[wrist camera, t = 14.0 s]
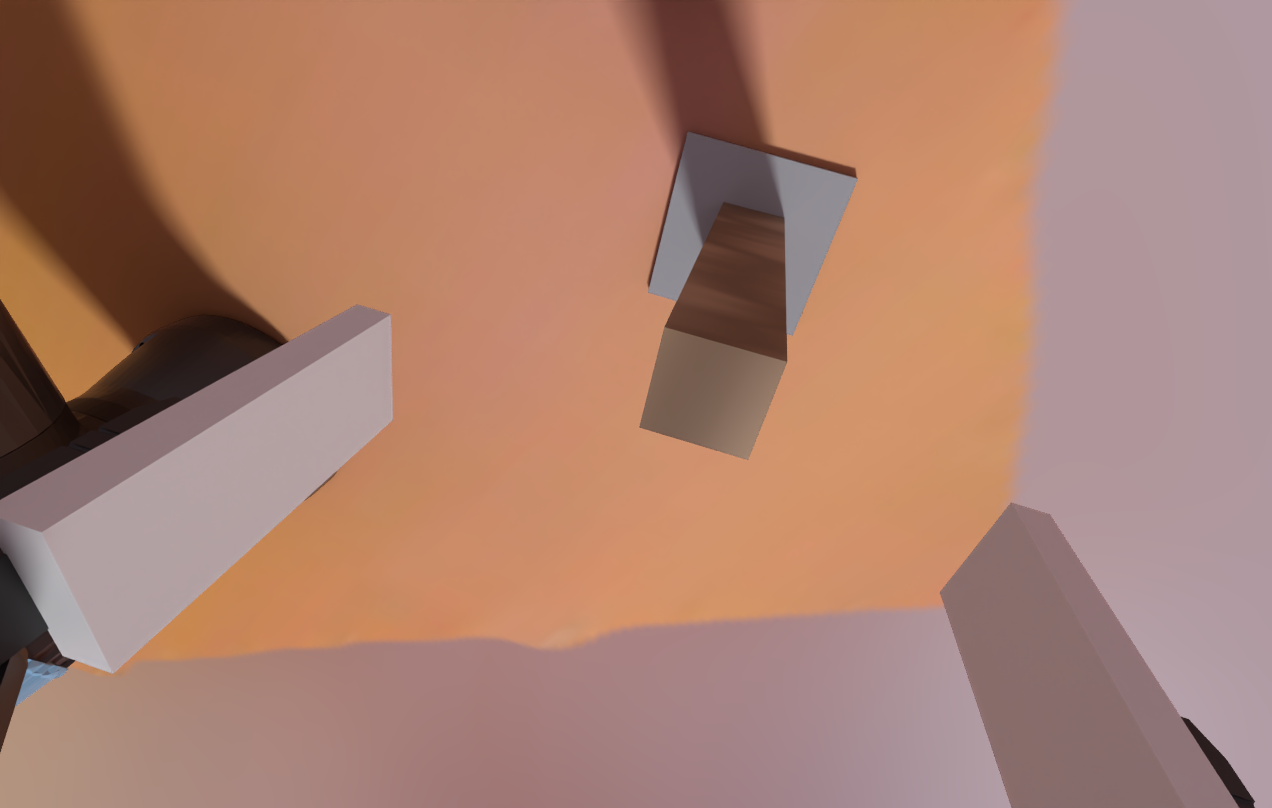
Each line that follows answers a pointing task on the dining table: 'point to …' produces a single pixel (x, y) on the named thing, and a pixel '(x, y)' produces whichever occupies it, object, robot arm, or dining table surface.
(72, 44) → the dining table surface
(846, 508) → the dining table surface
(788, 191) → the mat
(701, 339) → the walnut rod
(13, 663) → the robot arm
